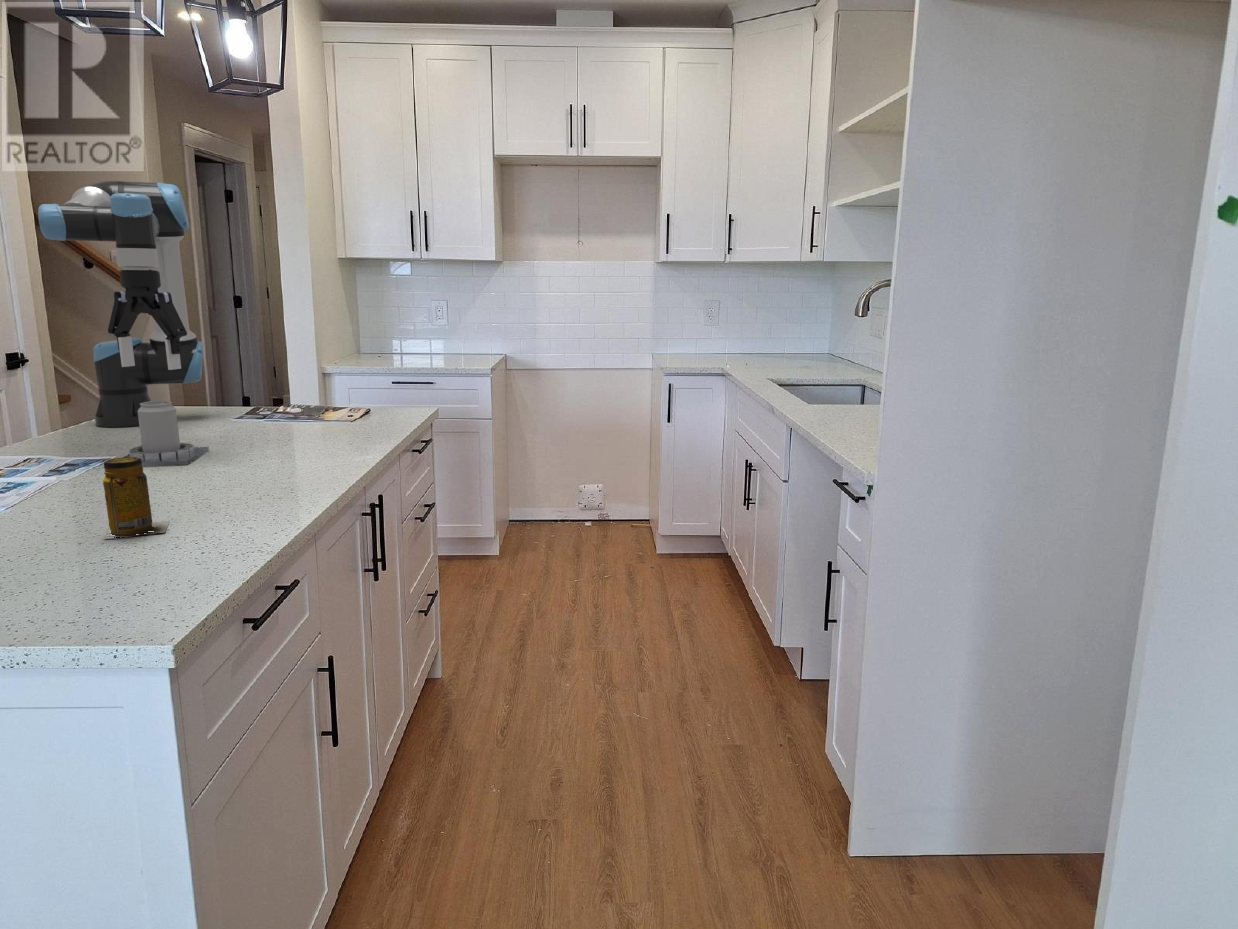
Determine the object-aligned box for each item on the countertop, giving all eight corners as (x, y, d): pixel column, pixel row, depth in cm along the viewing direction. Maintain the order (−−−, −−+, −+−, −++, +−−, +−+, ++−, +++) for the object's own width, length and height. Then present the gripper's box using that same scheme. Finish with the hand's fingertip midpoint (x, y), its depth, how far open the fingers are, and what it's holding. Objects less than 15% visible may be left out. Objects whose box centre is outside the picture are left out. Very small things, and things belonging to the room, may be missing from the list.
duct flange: (140, 452, 188) (138, 442, 187) (208, 450, 190) (207, 440, 190) (113, 467, 173) (111, 456, 173) (187, 465, 176) (186, 454, 175)
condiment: (111, 527, 132) (101, 456, 130) (169, 522, 136) (161, 452, 133) (104, 540, 126) (93, 466, 123) (165, 534, 129) (156, 462, 127)
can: (157, 450, 186) (151, 399, 183) (188, 451, 185) (182, 399, 182) (135, 457, 178) (128, 404, 176) (167, 458, 178) (161, 404, 175)
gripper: (198, 269, 172) (208, 368, 177) (112, 268, 180) (124, 363, 185) (168, 269, 165) (180, 372, 170) (80, 268, 173) (94, 366, 178)
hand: (151, 367), depth 177 cm, fingers open, 13 cm apart
